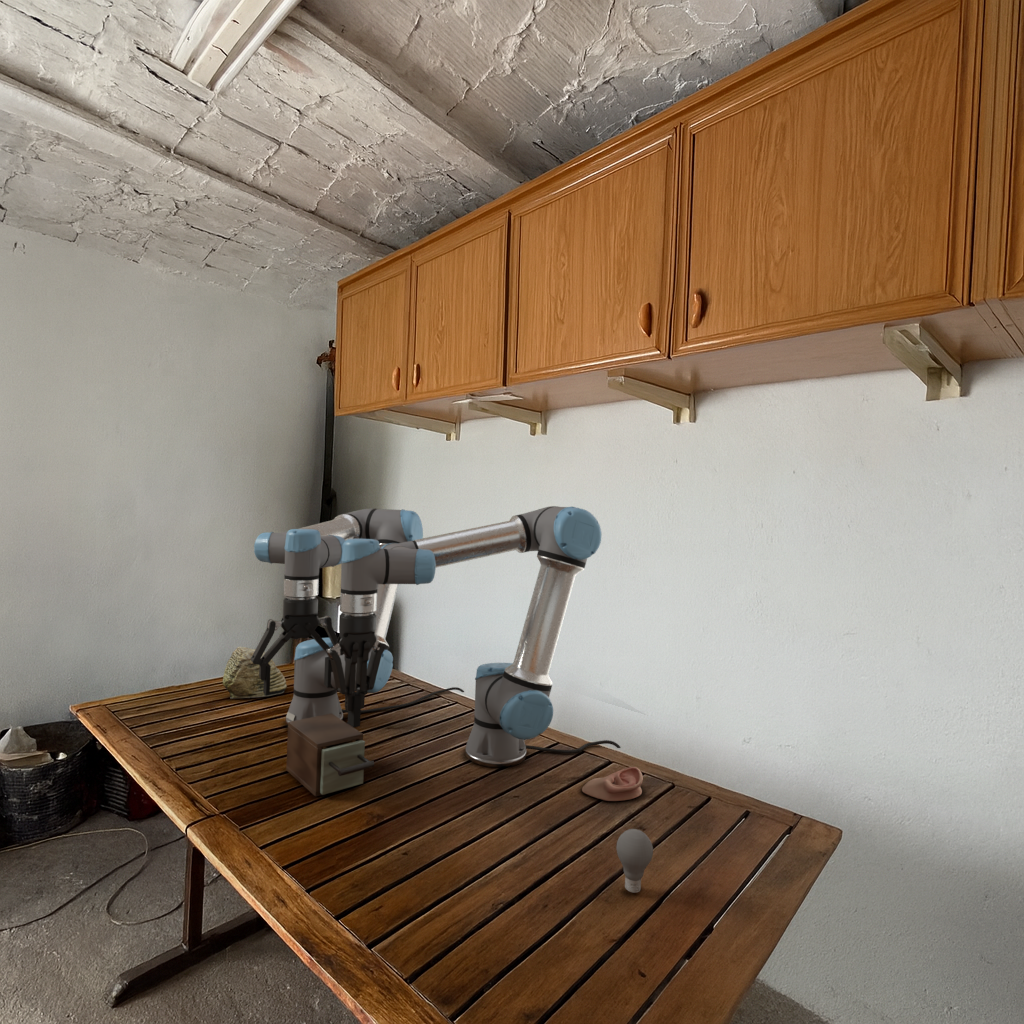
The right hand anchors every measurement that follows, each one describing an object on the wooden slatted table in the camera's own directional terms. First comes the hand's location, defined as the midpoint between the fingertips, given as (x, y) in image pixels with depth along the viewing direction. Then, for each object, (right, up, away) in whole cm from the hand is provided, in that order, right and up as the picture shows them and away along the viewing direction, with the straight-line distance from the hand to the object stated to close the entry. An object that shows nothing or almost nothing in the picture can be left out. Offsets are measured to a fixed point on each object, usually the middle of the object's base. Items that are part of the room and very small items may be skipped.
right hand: (353, 724), depth 133 cm
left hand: (-16, +4, +12) cm, 20 cm away
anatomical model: (+56, -18, +10) cm, 59 cm away
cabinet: (-10, -15, +10) cm, 21 cm away
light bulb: (+53, -19, -27) cm, 63 cm away
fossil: (-47, -13, +65) cm, 82 cm away
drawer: (-6, -15, +6) cm, 17 cm away
